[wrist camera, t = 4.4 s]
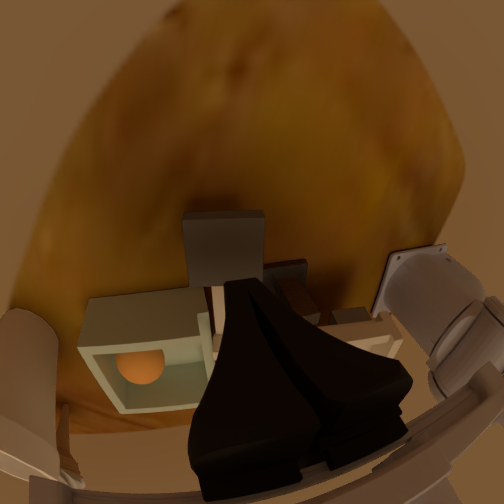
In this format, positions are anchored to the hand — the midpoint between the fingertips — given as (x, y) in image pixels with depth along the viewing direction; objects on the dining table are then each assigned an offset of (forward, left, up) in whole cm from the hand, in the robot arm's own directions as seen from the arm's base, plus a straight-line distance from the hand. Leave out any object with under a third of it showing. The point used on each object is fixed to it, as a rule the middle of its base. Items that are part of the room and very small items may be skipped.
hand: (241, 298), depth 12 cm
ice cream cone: (+20, +21, -8) cm, 30 cm away
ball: (+7, +10, -6) cm, 13 cm away
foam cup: (+18, +9, -8) cm, 22 cm away
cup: (+6, +10, -8) cm, 14 cm away
